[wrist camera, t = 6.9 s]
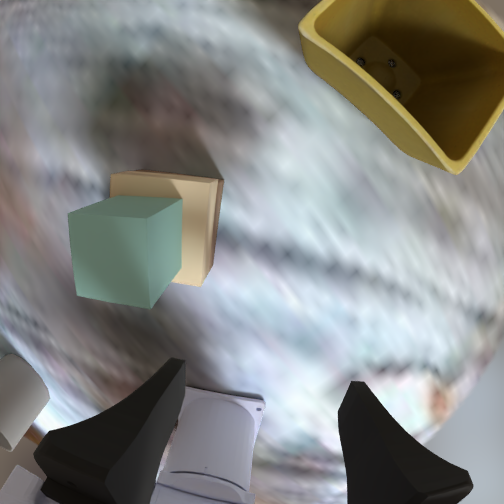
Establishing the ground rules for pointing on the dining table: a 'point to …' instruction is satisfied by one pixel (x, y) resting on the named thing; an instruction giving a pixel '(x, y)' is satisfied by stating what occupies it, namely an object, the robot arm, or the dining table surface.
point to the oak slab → (193, 214)
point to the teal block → (126, 248)
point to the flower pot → (413, 70)
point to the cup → (19, 399)
